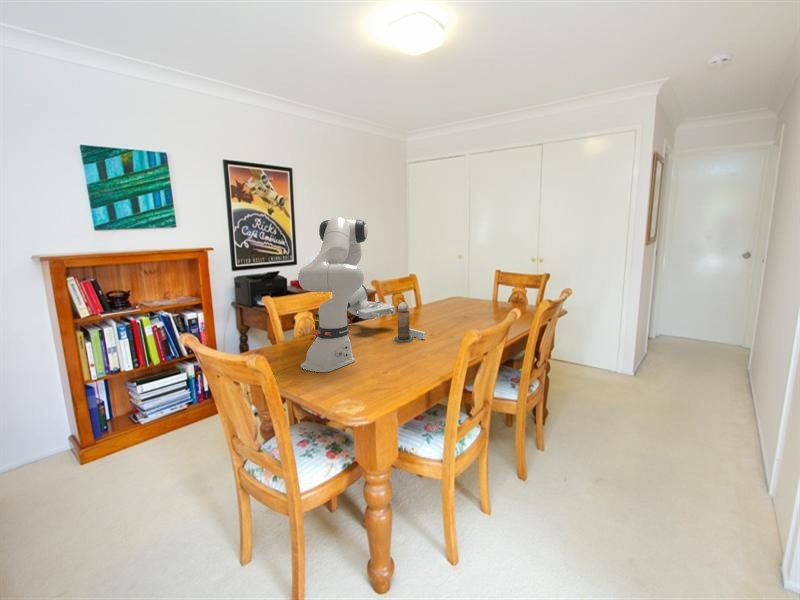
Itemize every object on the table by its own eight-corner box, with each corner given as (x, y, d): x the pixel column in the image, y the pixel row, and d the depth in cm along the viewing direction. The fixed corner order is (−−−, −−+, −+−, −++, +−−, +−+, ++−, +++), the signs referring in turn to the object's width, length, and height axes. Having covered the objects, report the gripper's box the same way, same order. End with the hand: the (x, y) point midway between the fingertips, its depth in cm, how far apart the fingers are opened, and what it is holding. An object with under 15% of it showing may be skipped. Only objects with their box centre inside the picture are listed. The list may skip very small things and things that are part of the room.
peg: (406, 340, 185) (405, 303, 182) (395, 339, 187) (395, 302, 184) (411, 337, 190) (411, 301, 187) (401, 336, 192) (400, 300, 189)
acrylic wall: (424, 339, 188) (424, 332, 187) (423, 340, 187) (423, 332, 187) (405, 333, 198) (404, 327, 198) (403, 334, 198) (403, 327, 197)
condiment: (311, 338, 194) (310, 314, 192) (324, 334, 201) (322, 311, 199) (322, 340, 190) (320, 315, 188) (334, 336, 197) (333, 312, 195)
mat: (408, 343, 183) (408, 341, 183) (391, 340, 187) (391, 339, 187) (416, 338, 191) (416, 336, 191) (399, 336, 195) (399, 334, 195)
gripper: (352, 307, 198) (370, 311, 188) (384, 301, 212) (401, 304, 202) (353, 319, 199) (370, 324, 189) (384, 312, 213) (401, 316, 203)
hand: (386, 314), depth 196 cm, fingers open, 8 cm apart
